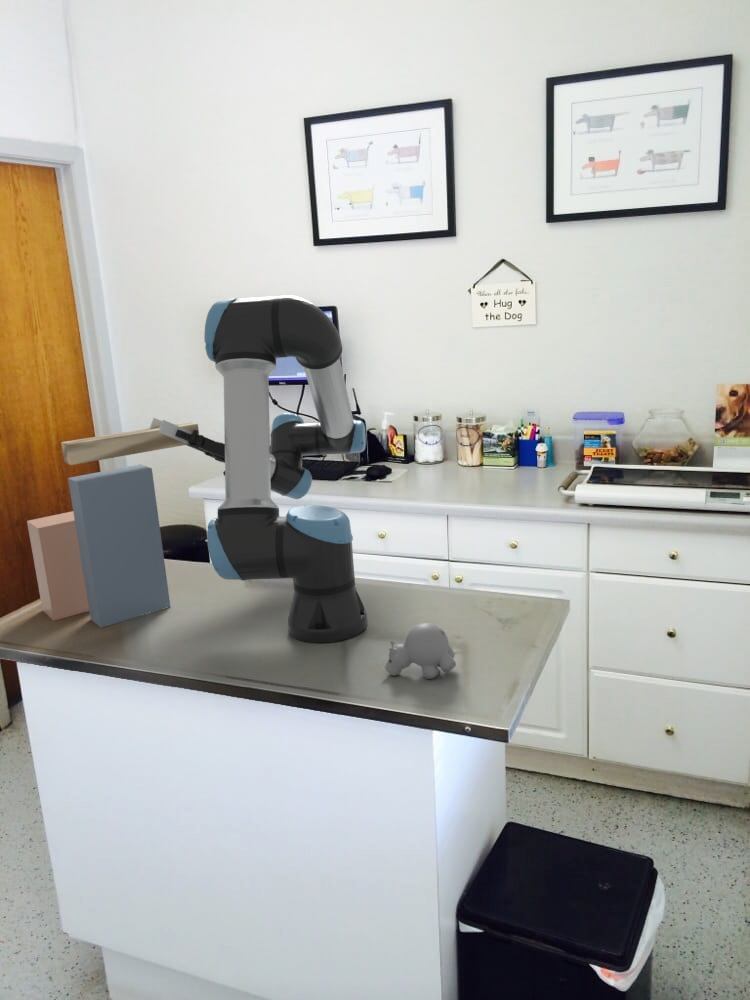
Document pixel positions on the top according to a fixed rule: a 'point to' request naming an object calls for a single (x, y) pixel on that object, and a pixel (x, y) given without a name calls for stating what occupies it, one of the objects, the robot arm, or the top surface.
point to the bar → (120, 444)
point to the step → (58, 565)
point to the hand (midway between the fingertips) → (156, 425)
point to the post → (119, 543)
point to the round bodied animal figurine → (422, 651)
